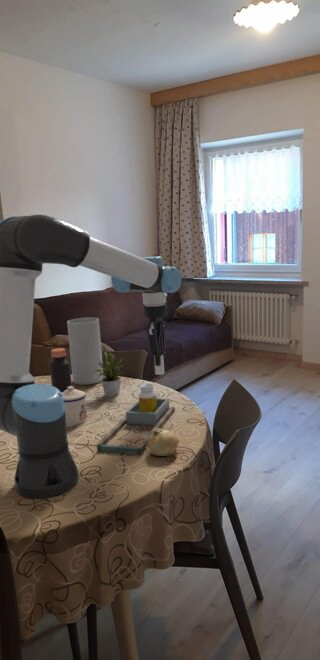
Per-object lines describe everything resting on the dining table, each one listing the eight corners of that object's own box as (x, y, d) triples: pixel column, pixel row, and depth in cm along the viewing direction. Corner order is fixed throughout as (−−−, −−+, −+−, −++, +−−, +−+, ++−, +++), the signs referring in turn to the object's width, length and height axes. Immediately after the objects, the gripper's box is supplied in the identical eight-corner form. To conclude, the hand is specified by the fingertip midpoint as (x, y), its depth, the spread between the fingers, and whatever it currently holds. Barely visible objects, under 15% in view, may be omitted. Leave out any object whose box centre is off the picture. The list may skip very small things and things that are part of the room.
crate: (156, 426, 152) (155, 414, 151) (126, 424, 155) (125, 412, 154) (169, 410, 165) (168, 399, 164) (141, 409, 168) (141, 397, 167)
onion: (164, 444, 141) (163, 420, 140) (184, 452, 135) (183, 427, 134) (142, 454, 136) (141, 429, 134) (162, 463, 130) (161, 437, 129)
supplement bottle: (156, 418, 157) (154, 388, 155) (139, 418, 157) (137, 388, 155) (157, 411, 162) (156, 382, 160) (141, 412, 163) (139, 383, 161)
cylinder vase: (94, 374, 215) (89, 316, 210) (109, 380, 205) (104, 319, 200) (67, 381, 208) (61, 321, 203) (81, 387, 198) (75, 324, 193)
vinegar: (73, 406, 176) (67, 351, 172) (53, 408, 175) (47, 352, 171) (73, 400, 183) (68, 346, 179) (54, 402, 182) (48, 348, 178)
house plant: (86, 392, 191) (82, 350, 188) (121, 386, 196) (118, 345, 193) (97, 403, 178) (93, 358, 175) (133, 396, 183) (130, 352, 180)
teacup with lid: (86, 426, 158) (82, 390, 155) (57, 428, 158) (53, 392, 155) (90, 412, 169) (87, 379, 167) (63, 414, 169) (60, 381, 167)
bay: (141, 454, 135) (141, 447, 135) (97, 450, 139) (96, 444, 139) (175, 412, 165) (174, 406, 164) (137, 410, 169) (137, 404, 168)
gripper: (159, 307, 158) (164, 380, 163) (171, 301, 170) (176, 368, 175) (137, 308, 160) (142, 379, 165) (150, 301, 172) (155, 368, 177)
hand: (159, 373), depth 170 cm, fingers closed
